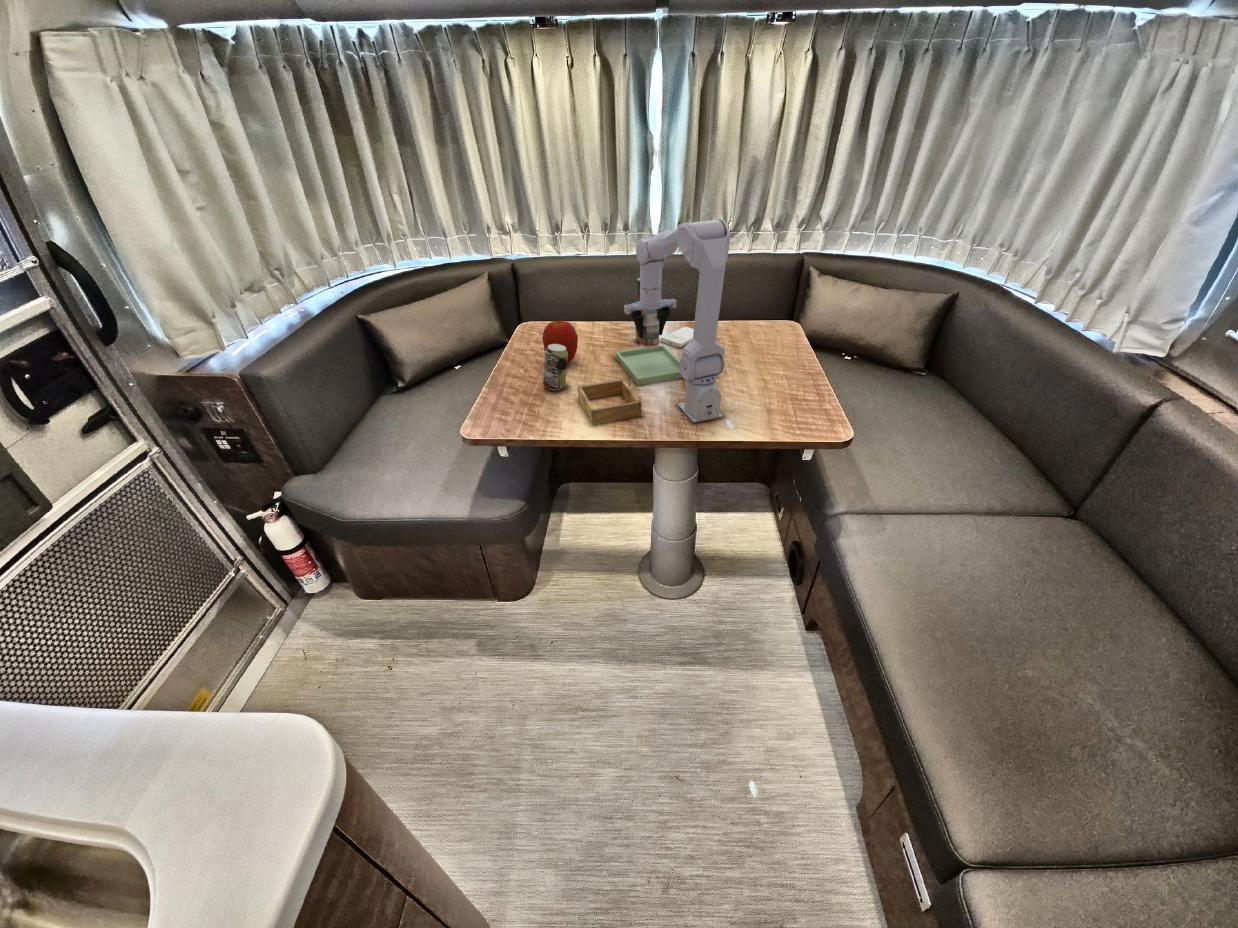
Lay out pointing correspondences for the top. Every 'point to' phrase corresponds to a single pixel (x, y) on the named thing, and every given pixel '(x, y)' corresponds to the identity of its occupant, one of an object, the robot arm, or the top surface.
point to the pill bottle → (650, 329)
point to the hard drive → (679, 337)
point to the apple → (561, 337)
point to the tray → (650, 364)
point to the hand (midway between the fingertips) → (650, 335)
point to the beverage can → (555, 366)
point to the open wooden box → (609, 412)
